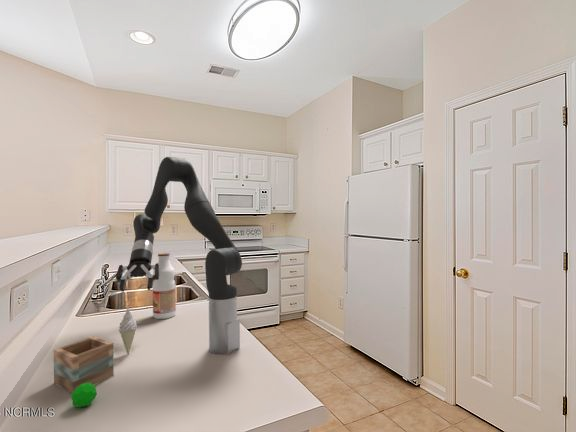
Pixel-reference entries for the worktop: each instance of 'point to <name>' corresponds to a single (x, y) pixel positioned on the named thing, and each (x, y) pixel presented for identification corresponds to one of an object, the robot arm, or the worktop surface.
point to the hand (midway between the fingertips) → (135, 289)
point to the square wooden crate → (83, 363)
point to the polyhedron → (84, 394)
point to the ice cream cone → (127, 330)
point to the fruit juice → (164, 289)
